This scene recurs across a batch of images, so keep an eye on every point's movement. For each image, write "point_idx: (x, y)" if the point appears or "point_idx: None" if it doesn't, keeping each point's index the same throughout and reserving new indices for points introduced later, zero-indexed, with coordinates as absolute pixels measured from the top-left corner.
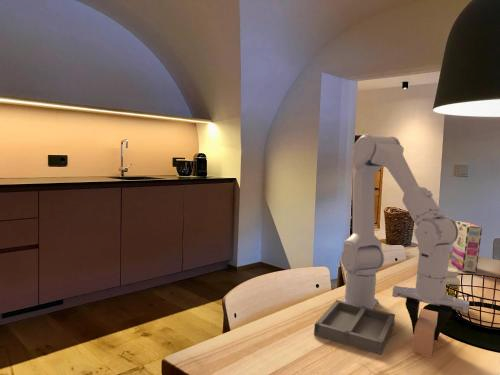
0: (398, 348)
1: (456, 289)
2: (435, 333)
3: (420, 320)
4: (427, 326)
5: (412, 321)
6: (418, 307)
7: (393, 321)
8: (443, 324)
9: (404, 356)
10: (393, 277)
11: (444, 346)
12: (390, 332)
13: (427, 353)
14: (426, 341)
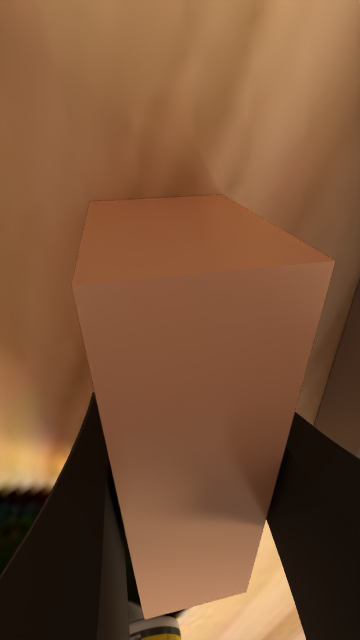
0: (311, 181)
1: None
2: None
3: (255, 472)
4: (184, 415)
5: (308, 430)
6: (322, 614)
7: (340, 427)
8: (30, 535)
9: (274, 59)
10: (293, 628)
11: (62, 398)
12: (342, 345)
13: (119, 205)
14: (146, 229)
